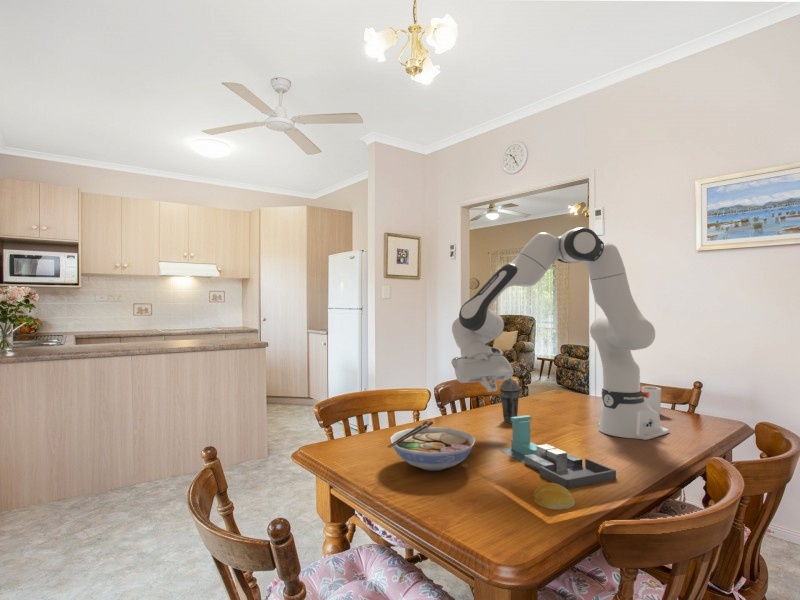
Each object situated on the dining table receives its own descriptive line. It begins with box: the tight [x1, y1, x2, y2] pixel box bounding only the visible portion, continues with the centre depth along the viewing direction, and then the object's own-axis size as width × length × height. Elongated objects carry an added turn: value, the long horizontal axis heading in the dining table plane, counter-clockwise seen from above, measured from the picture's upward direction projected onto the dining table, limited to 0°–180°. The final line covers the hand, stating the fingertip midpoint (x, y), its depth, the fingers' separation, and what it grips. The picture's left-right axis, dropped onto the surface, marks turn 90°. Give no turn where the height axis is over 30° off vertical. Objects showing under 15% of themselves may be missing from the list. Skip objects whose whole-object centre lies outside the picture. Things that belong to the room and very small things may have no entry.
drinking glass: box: [641, 385, 662, 416], centre depth 169 cm, size 7×7×10 cm
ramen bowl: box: [387, 420, 476, 472], centre depth 115 cm, size 25×23×8 cm
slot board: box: [497, 447, 584, 472], centre depth 118 cm, size 12×20×3 cm, turn 22°
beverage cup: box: [499, 377, 521, 424], centre depth 159 cm, size 7×7×20 cm
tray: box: [539, 458, 617, 490], centre depth 104 cm, size 15×9×3 cm, turn 112°
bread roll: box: [533, 482, 576, 513], centre depth 92 cm, size 8×9×4 cm
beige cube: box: [537, 443, 557, 460], centre depth 115 cm, size 4×4×4 cm
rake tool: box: [511, 414, 538, 456], centre depth 122 cm, size 6×10×10 cm, turn 22°
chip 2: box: [547, 447, 568, 470], centre depth 111 cm, size 4×4×4 cm
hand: (493, 390), depth 137 cm, fingers closed
